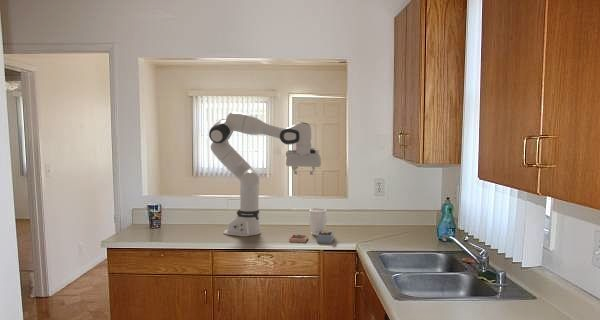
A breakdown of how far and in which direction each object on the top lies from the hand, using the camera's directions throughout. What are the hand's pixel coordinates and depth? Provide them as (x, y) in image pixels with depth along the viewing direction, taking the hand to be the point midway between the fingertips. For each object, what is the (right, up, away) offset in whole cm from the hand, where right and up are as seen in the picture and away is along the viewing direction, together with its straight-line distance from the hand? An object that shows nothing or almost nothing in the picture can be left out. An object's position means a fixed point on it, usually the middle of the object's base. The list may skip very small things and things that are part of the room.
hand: (303, 174), depth 243 cm
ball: (-3, -37, -5) cm, 37 cm away
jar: (+9, -37, +11) cm, 39 cm away
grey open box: (+12, -38, -7) cm, 40 cm away
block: (+12, -37, -7) cm, 40 cm away
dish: (-3, -38, -5) cm, 38 cm away
